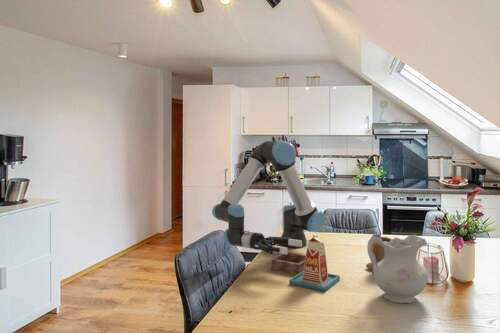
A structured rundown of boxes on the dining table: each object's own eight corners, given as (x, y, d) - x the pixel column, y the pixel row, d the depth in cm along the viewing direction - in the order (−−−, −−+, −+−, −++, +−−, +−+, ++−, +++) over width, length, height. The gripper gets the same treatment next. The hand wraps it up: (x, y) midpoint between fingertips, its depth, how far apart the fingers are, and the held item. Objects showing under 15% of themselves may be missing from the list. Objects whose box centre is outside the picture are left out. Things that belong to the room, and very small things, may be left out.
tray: (289, 284, 171) (289, 279, 170) (305, 273, 184) (306, 268, 184) (325, 292, 162) (325, 287, 162) (339, 280, 175) (339, 275, 175)
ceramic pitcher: (379, 312, 146) (383, 245, 142) (358, 287, 165) (361, 228, 161) (435, 308, 149) (441, 243, 145) (408, 285, 168) (413, 226, 164)
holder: (271, 268, 190) (271, 259, 190) (286, 260, 202) (286, 251, 202) (299, 274, 182) (299, 264, 182) (312, 265, 194) (312, 256, 194)
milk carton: (322, 285, 166) (322, 237, 165) (300, 281, 171) (301, 234, 169) (328, 278, 174) (329, 232, 173) (308, 275, 179) (308, 230, 177)
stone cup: (381, 276, 180) (382, 242, 178) (362, 268, 190) (362, 237, 189) (405, 270, 187) (406, 238, 186) (385, 263, 197) (386, 233, 196)
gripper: (238, 238, 178) (280, 245, 166) (267, 227, 199) (307, 232, 187) (238, 255, 179) (280, 263, 167) (267, 242, 199) (307, 248, 188)
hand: (294, 247), depth 177 cm, fingers open, 13 cm apart
